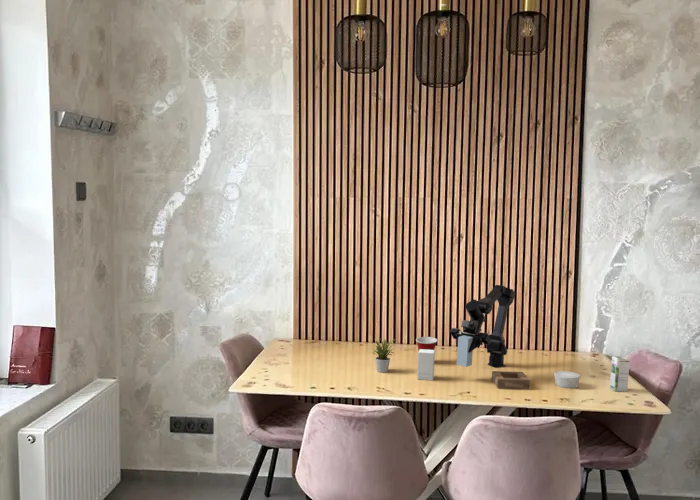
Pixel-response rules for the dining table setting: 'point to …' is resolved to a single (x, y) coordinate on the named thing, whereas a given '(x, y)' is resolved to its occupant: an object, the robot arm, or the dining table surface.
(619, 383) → the syrup box
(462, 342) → the slate blue peg
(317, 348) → the dining table surface
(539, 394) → the dining table surface
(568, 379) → the ramekin
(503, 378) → the walnut socket block
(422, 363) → the supplement box
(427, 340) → the plastic cup
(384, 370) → the house plant
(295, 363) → the dining table surface
